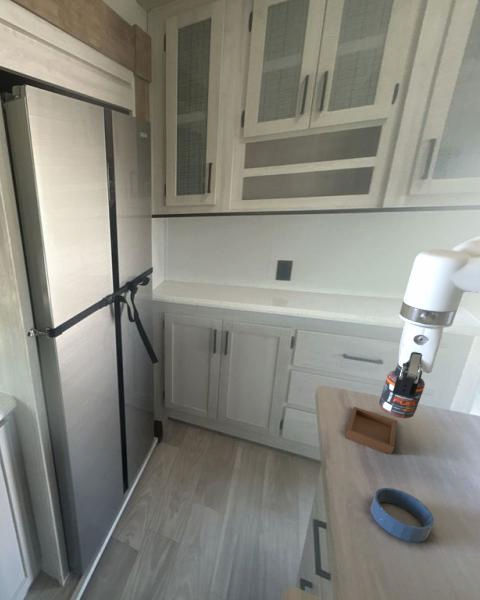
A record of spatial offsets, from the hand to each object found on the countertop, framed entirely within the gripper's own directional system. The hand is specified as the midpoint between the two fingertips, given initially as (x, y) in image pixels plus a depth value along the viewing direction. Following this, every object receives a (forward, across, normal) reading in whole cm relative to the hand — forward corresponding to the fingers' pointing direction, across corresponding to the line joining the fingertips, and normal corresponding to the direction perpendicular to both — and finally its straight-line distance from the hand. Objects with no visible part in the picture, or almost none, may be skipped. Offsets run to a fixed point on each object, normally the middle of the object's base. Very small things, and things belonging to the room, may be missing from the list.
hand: (403, 386), depth 72 cm
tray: (+22, +9, +2) cm, 24 cm away
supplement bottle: (+7, 0, 0) cm, 7 cm away
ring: (+22, -17, -4) cm, 28 cm away
